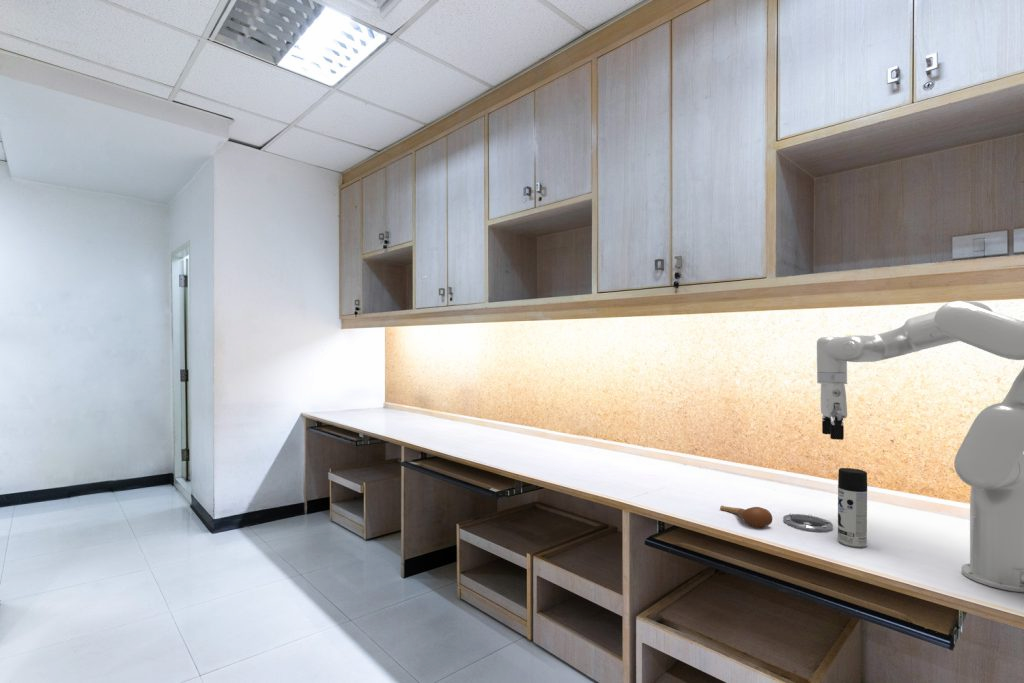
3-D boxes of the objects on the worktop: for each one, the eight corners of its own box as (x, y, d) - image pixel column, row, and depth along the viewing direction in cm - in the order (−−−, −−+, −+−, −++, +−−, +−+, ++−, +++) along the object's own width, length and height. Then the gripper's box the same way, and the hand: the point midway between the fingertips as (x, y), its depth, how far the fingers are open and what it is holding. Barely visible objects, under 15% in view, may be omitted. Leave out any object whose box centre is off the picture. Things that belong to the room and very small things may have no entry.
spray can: (835, 537, 143) (835, 466, 143) (863, 541, 140) (863, 468, 141) (840, 546, 137) (840, 471, 137) (870, 549, 134) (870, 474, 134)
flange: (843, 529, 150) (843, 524, 150) (812, 534, 145) (812, 529, 145) (803, 515, 162) (803, 510, 162) (773, 520, 157) (773, 515, 157)
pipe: (726, 509, 168) (726, 491, 168) (775, 529, 150) (775, 508, 150) (708, 511, 165) (708, 493, 165) (755, 532, 147) (755, 511, 147)
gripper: (855, 380, 141) (856, 442, 140) (838, 377, 157) (839, 433, 156) (824, 379, 143) (825, 440, 143) (811, 377, 159) (811, 431, 159)
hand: (832, 436), depth 150 cm, fingers open, 9 cm apart
